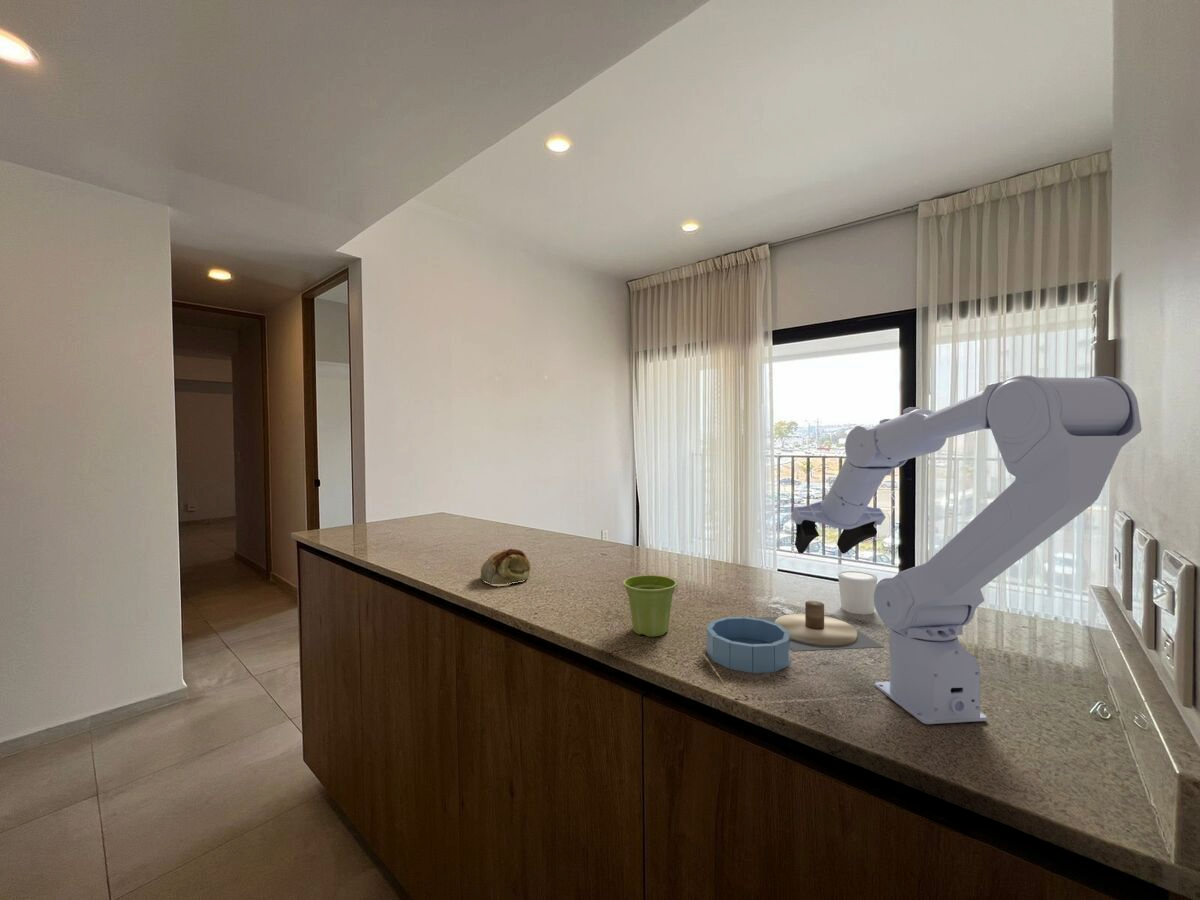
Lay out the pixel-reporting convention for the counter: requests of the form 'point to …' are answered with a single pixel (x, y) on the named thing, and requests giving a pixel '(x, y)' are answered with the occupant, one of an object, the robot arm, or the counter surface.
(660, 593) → the plant pot
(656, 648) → the counter surface
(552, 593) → the counter surface
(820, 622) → the lid
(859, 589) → the white cup
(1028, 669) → the counter surface
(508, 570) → the pastry
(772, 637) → the bowl
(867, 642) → the mat
